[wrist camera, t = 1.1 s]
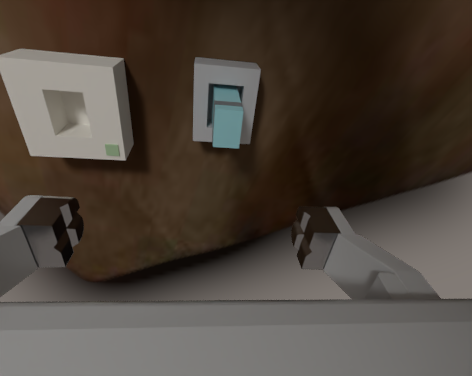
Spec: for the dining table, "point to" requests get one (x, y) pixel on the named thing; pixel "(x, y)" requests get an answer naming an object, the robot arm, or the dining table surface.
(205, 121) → the holster
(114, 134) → the port block
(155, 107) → the dining table surface
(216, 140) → the plug
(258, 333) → the robot arm
